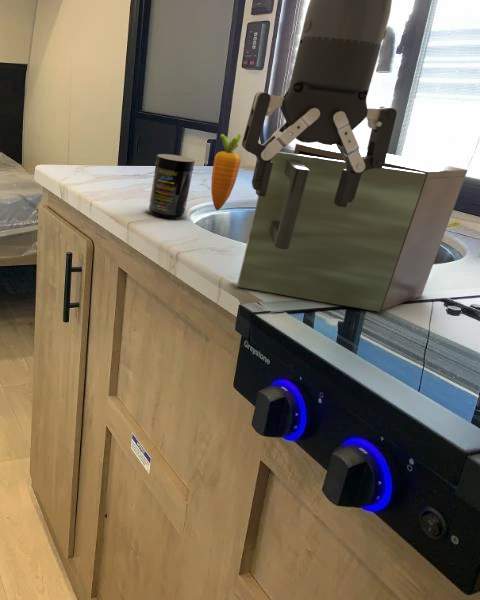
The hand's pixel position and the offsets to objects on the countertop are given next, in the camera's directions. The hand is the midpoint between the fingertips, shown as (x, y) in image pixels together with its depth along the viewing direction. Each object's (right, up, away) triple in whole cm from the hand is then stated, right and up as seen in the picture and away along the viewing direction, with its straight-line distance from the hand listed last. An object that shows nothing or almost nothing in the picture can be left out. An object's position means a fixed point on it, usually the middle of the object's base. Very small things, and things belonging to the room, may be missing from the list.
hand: (299, 200), depth 65 cm
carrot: (+4, +7, +54) cm, 55 cm away
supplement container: (-8, +5, +45) cm, 46 cm away
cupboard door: (+5, -12, +9) cm, 15 cm away
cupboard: (+14, -8, +21) cm, 26 cm away
